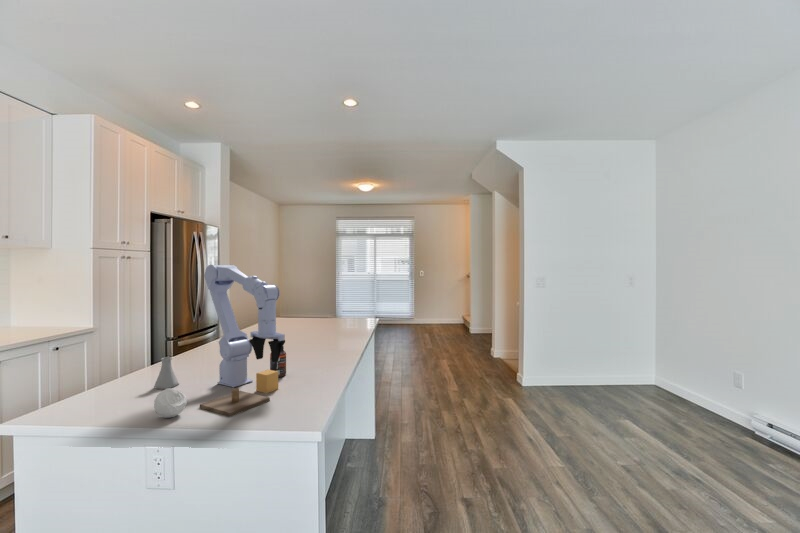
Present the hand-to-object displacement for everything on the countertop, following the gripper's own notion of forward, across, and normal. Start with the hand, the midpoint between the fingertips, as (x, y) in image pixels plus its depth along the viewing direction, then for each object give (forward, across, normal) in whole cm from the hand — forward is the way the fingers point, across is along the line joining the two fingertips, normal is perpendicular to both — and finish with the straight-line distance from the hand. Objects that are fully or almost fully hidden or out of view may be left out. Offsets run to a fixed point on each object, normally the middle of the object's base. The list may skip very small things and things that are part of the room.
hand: (267, 360), depth 127 cm
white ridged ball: (+10, -6, -29) cm, 31 cm away
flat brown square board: (+10, +2, -14) cm, 17 cm away
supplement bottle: (+10, -10, +14) cm, 20 cm away
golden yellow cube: (+10, 0, 0) cm, 10 cm away
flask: (+10, -35, -14) cm, 39 cm away
